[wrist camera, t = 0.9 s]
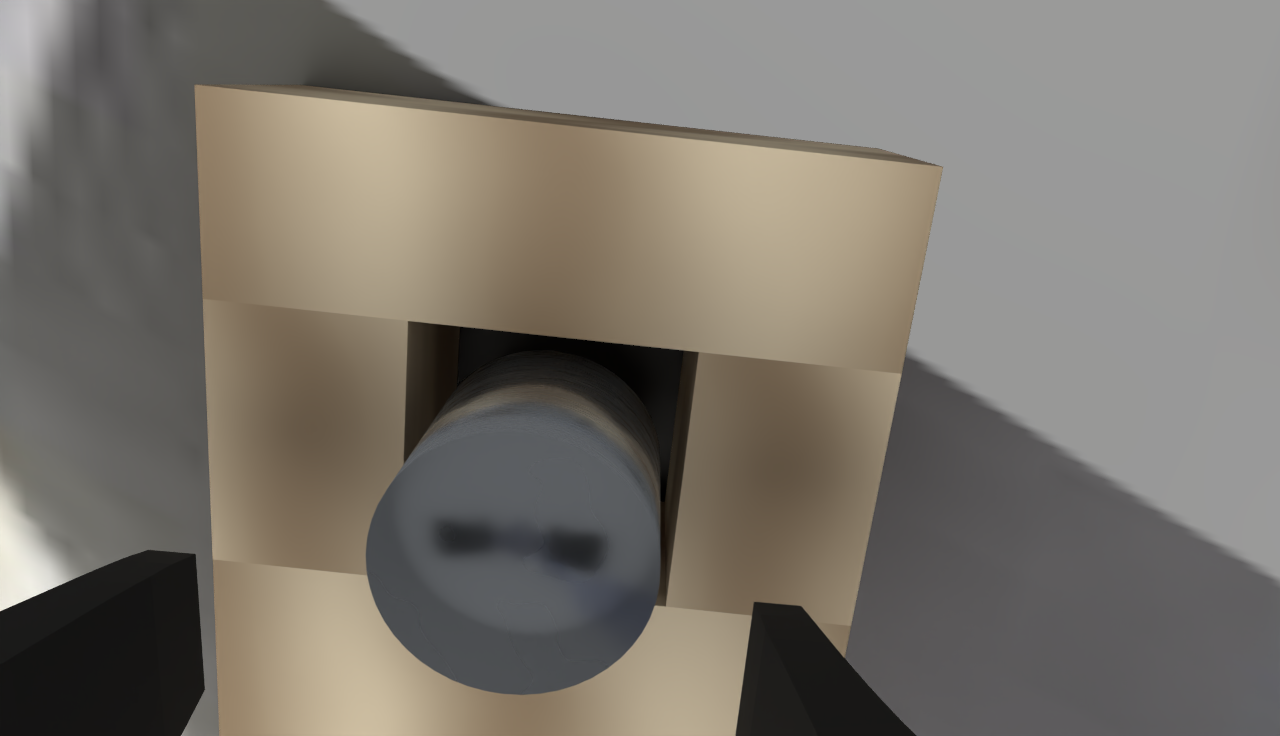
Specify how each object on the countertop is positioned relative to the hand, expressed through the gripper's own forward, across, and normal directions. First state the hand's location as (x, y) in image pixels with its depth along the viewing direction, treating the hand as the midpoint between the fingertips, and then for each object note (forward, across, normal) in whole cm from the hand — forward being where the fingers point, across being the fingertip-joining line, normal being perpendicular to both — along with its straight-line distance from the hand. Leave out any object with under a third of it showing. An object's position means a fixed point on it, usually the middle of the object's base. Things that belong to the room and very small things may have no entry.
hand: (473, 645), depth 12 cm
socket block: (+9, 0, +6) cm, 11 cm away
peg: (+6, 0, 0) cm, 6 cm away
